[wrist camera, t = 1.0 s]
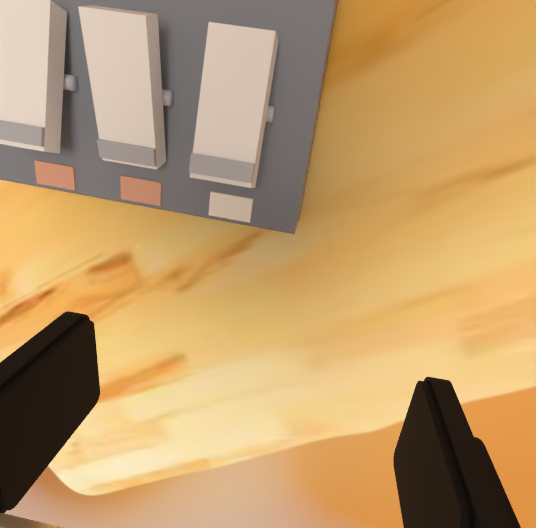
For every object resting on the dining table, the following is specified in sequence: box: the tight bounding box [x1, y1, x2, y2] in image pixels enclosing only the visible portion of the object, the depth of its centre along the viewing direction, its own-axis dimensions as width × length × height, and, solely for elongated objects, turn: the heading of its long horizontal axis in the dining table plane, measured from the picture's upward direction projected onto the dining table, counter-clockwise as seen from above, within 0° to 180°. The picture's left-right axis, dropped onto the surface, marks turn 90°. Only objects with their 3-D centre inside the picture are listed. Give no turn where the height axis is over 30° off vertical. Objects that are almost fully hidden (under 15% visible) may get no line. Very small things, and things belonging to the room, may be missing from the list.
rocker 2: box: [78, 5, 166, 170], centre depth 25 cm, size 9×4×2 cm, turn 172°
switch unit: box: [0, 0, 338, 234], centre depth 28 cm, size 16×24×5 cm, turn 82°
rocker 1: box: [0, 0, 67, 154], centre depth 25 cm, size 9×4×2 cm, turn 172°
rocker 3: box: [189, 22, 278, 188], centre depth 24 cm, size 9×4×2 cm, turn 172°
